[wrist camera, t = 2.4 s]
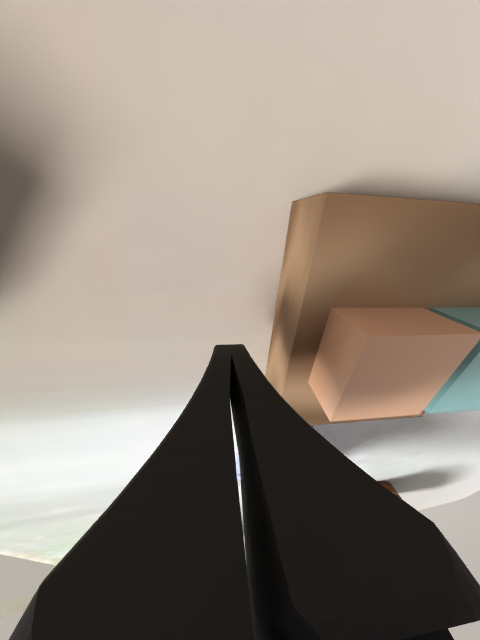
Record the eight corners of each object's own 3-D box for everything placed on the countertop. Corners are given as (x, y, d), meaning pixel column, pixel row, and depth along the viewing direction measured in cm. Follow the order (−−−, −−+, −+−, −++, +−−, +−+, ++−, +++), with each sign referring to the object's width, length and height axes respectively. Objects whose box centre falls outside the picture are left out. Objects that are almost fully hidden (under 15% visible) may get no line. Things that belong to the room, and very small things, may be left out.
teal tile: (455, 374, 12) (506, 407, 10) (388, 378, 12) (427, 413, 10) (510, 307, 10) (592, 331, 8) (430, 307, 9) (495, 333, 7)
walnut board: (385, 382, 18) (421, 416, 14) (263, 389, 16) (274, 428, 13) (484, 214, 11) (588, 212, 8) (292, 201, 10) (327, 192, 6)
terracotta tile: (381, 378, 12) (419, 414, 10) (308, 382, 11) (330, 421, 9) (422, 307, 9) (484, 333, 7) (331, 307, 9) (368, 336, 7)
